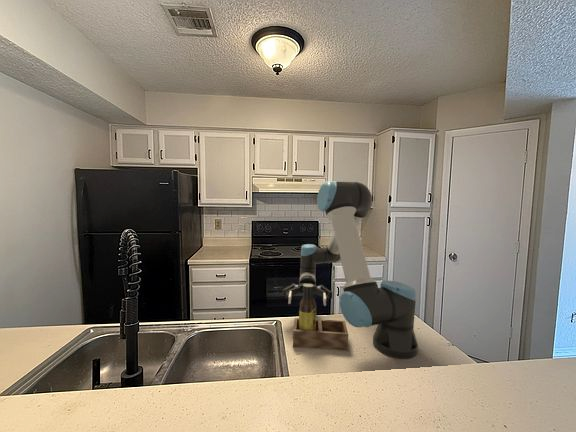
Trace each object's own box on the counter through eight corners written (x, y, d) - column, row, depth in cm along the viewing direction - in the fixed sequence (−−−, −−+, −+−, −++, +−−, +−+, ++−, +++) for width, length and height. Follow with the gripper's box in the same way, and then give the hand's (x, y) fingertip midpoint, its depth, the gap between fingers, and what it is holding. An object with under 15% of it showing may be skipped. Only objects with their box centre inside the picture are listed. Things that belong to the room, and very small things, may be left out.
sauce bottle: (316, 342, 99) (317, 288, 97) (298, 342, 99) (300, 288, 97) (314, 333, 105) (315, 282, 104) (298, 333, 105) (299, 282, 104)
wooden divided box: (344, 335, 106) (344, 320, 106) (347, 350, 96) (348, 334, 96) (294, 332, 108) (294, 317, 107) (292, 347, 98) (293, 330, 97)
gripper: (334, 292, 126) (339, 312, 105) (280, 289, 128) (274, 309, 107) (335, 276, 125) (340, 293, 104) (280, 273, 127) (274, 290, 106)
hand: (307, 301), depth 105 cm, fingers open, 13 cm apart
